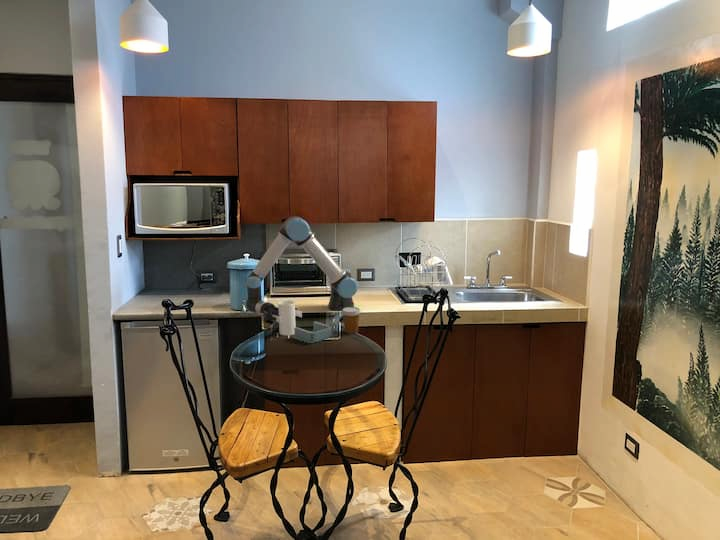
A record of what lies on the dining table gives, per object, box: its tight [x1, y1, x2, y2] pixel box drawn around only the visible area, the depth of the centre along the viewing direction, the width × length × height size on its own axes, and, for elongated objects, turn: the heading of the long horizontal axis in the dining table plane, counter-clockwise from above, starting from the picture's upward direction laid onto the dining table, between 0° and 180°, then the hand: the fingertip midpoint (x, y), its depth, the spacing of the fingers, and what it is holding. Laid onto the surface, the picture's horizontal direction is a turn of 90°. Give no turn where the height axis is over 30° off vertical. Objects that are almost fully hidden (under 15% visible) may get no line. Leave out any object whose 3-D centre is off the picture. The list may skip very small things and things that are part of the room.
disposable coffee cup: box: [341, 306, 361, 335], centre depth 286 cm, size 10×10×12 cm
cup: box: [277, 300, 297, 336], centre depth 286 cm, size 8×8×16 cm
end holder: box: [292, 321, 337, 344], centre depth 280 cm, size 16×14×5 cm
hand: (291, 317), depth 283 cm, fingers open, 12 cm apart
